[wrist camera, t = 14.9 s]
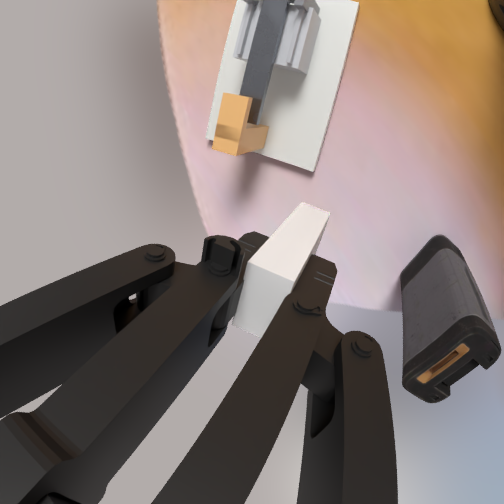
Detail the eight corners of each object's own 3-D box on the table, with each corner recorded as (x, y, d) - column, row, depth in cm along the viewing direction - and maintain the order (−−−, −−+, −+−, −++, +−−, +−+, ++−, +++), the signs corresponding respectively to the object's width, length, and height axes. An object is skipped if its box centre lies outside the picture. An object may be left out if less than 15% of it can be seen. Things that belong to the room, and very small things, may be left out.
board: (244, -11, 28) (216, -31, 21) (359, 5, 24) (354, -20, 18) (209, 137, 41) (177, 144, 34) (314, 170, 37) (300, 182, 30)
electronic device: (423, 298, 38) (432, 409, 21) (395, 276, 38) (394, 385, 22) (465, 254, 32) (508, 355, 16) (437, 228, 33) (475, 322, 16)
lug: (253, 96, 34) (223, 92, 27) (275, 101, 33) (248, 97, 27) (243, 141, 38) (211, 149, 31) (263, 147, 37) (235, 156, 30)
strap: (262, -7, 23) (258, -10, 22) (299, -3, 22) (296, -7, 21) (231, 117, 32) (226, 117, 31) (265, 126, 31) (262, 126, 30)
